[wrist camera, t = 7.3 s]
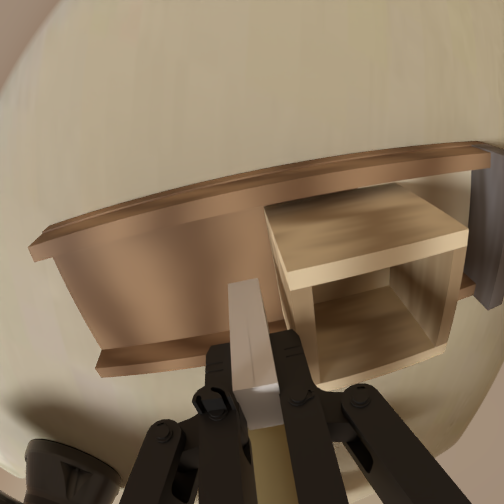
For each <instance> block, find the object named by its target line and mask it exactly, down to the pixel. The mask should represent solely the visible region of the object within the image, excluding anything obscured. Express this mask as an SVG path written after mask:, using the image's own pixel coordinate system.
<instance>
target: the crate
mask: <svg viewBox="0 0 504 504" xmlns="http://www.w3.org/2000/svg"><path fill="white" fill-rule="evenodd" d="M264 213H265V218H266V223H267V228H268V234H269V239H270V244H271V250H272V255H273V261H274V266H275V272H276V277H277V283H278V288H279V294H280V299H281V305H282V311H283V315H284V319H285V323H286V326H287V330H289V329H293V330H294V331H295V332H296V333H297V334H298V335H299V337H300V340H301V343H302V347H303V350H304V354H305V357H306V360H307V363H308V367H309V370H310V374H311V377H312V380H313V382H314V384H315V385H316V386H317V387H318V388H320V389H321V390H324V391H331V390H335V389H339V388H342V387H346V386H349V385H353V384H356V383H360V382H363V381H366V380H370V379H373V378H376V377H379V376H382V375H385V374H388V373H391V372H394V371H397V370H400V369H403V368H406V367H408V366H411V365H414V364H417V363H419V362H422V361H425V360H427V359H430V358H432V357H435V356H437V355H440V354H442V353H444V352H445V348H446V345H447V341H448V338H449V334H450V330H451V326H452V322H453V318H454V314H455V310H456V305H457V301H458V296H459V291H460V286H461V280H462V275H463V269H464V263H465V257H466V250H467V242H468V234H469V229H468V228H467V227H465V226H464V225H463V224H461V223H460V222H458V221H457V220H455V219H454V218H452V217H451V216H449V215H448V214H446V213H444V212H443V211H441V210H440V209H438V208H437V207H435V206H434V205H432V204H430V203H429V202H427V201H426V200H424V199H422V198H421V197H419V196H417V195H416V194H414V193H412V192H411V191H409V190H407V189H406V188H404V187H402V186H400V185H399V184H397V183H389V184H383V185H377V186H371V187H365V188H359V189H354V190H348V191H343V192H337V193H332V194H326V195H321V196H316V197H310V198H305V199H300V200H295V201H290V202H285V203H280V204H275V205H270V206H265V207H264Z"/></svg>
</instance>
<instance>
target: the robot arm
mask: <svg viewBox="0 0 504 504" xmlns="http://www.w3.org/2000/svg"><path fill="white" fill-rule="evenodd" d="M228 301H229V326H230V342H228V343H223V344H217V345H212V346H210V348H209V350H208V352H207V354H206V368H205V372H206V374H205V386H204V387H202V388H201V389H199V390H198V391H197V392H196V393H195V394H194V396H193V399H192V403H193V405H194V406H195V408H196V410H197V411H198V414H197V415H195V416H194V417H192V418H190V419H188V420H185V421H182V422H180V423H176V422H175V421H173V420H170V419H164V420H160V421H157V422H156V423H154V424H153V425H152V426H151V427H150V428H149V430H148V432H147V434H146V437H145V439H144V442H143V444H142V447H141V449H140V452H139V454H138V457H137V459H136V462H135V464H134V467H133V469H132V472H131V474H130V477H129V479H128V482H127V484H126V487H125V490H124V492H123V495H122V497H121V500H120V503H119V504H194V501H195V497H196V494H197V490H198V487H199V504H258V500H257V491H256V482H255V473H254V464H253V455H252V446H251V441H250V438H249V436H248V428H249V430H254V429H260V428H266V427H271V426H277V425H282V424H284V426H285V432H286V437H287V443H288V448H289V454H290V459H291V465H292V470H293V476H294V481H295V487H296V492H297V498H298V503H299V504H349V502H348V499H347V495H346V491H345V488H344V484H343V480H342V476H341V473H340V469H339V465H338V462H337V458H336V455H335V451H334V447H333V444H332V442H342V443H343V444H344V446H345V447H346V449H347V450H348V452H349V453H350V455H351V456H352V458H353V459H354V461H355V462H356V464H357V465H358V467H359V468H360V470H361V471H362V473H363V474H364V476H365V477H366V479H367V480H368V482H369V483H370V485H371V486H372V487H373V489H374V490H375V492H376V493H377V495H378V496H379V498H380V499H381V501H382V502H383V504H471V502H470V501H469V500H468V499H467V497H466V496H465V495H464V494H463V493H462V491H461V490H460V489H459V488H458V486H457V485H456V484H455V483H454V482H453V480H452V479H451V478H450V477H449V476H448V474H447V473H446V472H445V471H444V469H443V468H442V467H441V466H440V465H439V463H438V462H437V461H436V460H435V459H434V457H433V456H432V455H431V454H430V453H429V451H428V450H427V449H426V448H425V447H424V445H423V444H422V443H421V442H420V441H419V439H418V438H417V437H416V436H415V435H414V433H413V432H412V431H411V430H410V429H409V427H408V426H407V425H406V424H405V423H404V421H403V420H402V419H401V418H400V417H399V415H398V414H397V413H396V412H395V411H394V409H393V408H392V407H391V406H390V405H389V403H388V402H387V401H386V400H385V399H384V398H383V396H382V395H381V394H380V393H379V392H378V390H377V389H375V388H374V387H373V386H371V385H368V384H365V383H364V384H355V385H352V386H350V387H349V388H347V389H346V390H345V391H344V392H327V391H324V390H321V389H320V388H318V387H317V386H316V385H315V384H314V382H313V380H312V377H311V374H310V370H309V367H308V363H307V360H306V357H305V354H304V350H303V347H302V343H301V340H300V337H299V335H298V334H297V333H296V332H295V331H294V330H293V329H289V330H284V331H280V332H275V333H270V332H269V327H268V322H267V317H266V312H265V308H264V303H263V299H262V294H261V290H260V285H259V281H258V278H254V279H249V280H245V281H240V282H235V283H230V284H228ZM25 461H26V484H27V490H26V495H25V499H24V503H21V502H20V501H18V500H16V499H14V498H12V497H11V496H9V495H7V494H6V493H4V492H2V491H1V490H0V504H112V503H113V501H114V499H115V497H116V496H117V495H118V492H119V489H120V482H121V478H120V476H119V474H118V473H117V472H116V471H115V470H113V469H112V468H111V467H109V466H108V465H106V464H105V463H103V462H101V461H99V460H98V459H96V458H94V457H92V456H90V455H87V454H85V453H83V452H81V451H78V450H76V449H73V448H71V447H68V446H65V445H62V444H59V443H55V442H51V441H46V440H31V441H30V442H29V443H28V446H27V449H26V452H25Z"/></svg>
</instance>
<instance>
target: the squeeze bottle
mask: <svg viewBox="0 0 504 504" xmlns="http://www.w3.org/2000/svg"><path fill="white" fill-rule="evenodd" d="M248 436H249V438H250V441H251V446H252V455H253V464H254V473H255V482H256V491H257V500H258V504H299V503H298V498H297V492H296V487H295V481H294V476H293V470H292V465H291V459H290V454H289V448H288V443H287V437H286V432H285V426H284V424H282V425H277V426H271V427H266V428H260V429H254V430H249V428H248Z"/></svg>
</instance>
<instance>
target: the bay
mask: <svg viewBox="0 0 504 504" xmlns="http://www.w3.org/2000/svg"><path fill="white" fill-rule="evenodd" d="M389 183H397V184H399V185H400V186H402V187H404V188H406V189H407V190H409V191H411V192H412V193H414V194H416V195H417V196H419V197H421V198H422V199H424V200H426V201H427V202H429V203H430V204H432V205H434V206H435V207H437V208H438V209H440V210H441V211H443V212H444V213H446V214H448V215H449V216H451V217H452V218H454V219H455V220H457V221H458V222H460V223H461V224H463V225H464V226H465V227H467V228H468V229H469V234H468V242H467V250H466V257H465V263H464V269H463V275H462V280H461V286H460V291H459V296H458V300H461V299H463V298H466V297H469V296H471V295H473V296H474V297H475V298H476V299H477V300H478V301H479V302H480V303H481V304H482V305H483V306H484V307H485V308H486V309H487V310H490V309H492V308H494V307H496V306H499V305H501V304H502V301H503V297H504V150H503V149H500V148H497V147H494V146H491V145H488V144H485V143H482V142H479V141H470V142H455V143H442V144H431V145H420V146H410V147H401V148H392V149H384V150H376V151H368V152H361V153H354V154H347V155H340V156H334V157H327V158H321V159H315V160H309V161H303V162H298V163H292V164H287V165H281V166H276V167H271V168H266V169H260V170H256V171H251V172H246V173H241V174H236V175H232V176H227V177H223V178H218V179H214V180H209V181H205V182H201V183H197V184H192V185H188V186H184V187H180V188H176V189H172V190H168V191H164V192H161V193H157V194H153V195H149V196H146V197H142V198H138V199H135V200H131V201H128V202H124V203H121V204H117V205H114V206H110V207H107V208H104V209H100V210H97V211H94V212H90V213H87V214H84V215H81V216H78V217H75V218H71V219H68V220H65V221H62V222H59V223H56V224H53V225H50V226H48V227H47V228H46V229H45V230H44V231H43V232H42V233H43V234H42V235H41V236H39V237H38V238H37V239H36V240H35V241H34V242H33V243H32V244H31V245H30V246H29V247H28V249H29V251H30V254H31V256H32V258H33V260H34V262H37V261H41V260H44V259H48V258H51V257H53V259H54V261H55V263H56V265H57V267H58V270H59V272H60V274H61V276H62V278H63V280H64V282H65V284H66V286H67V288H68V290H69V292H70V294H71V296H72V298H73V300H74V302H75V304H76V306H77V307H78V309H79V311H80V313H81V315H82V317H83V318H84V320H85V322H86V324H87V326H88V327H89V329H90V331H91V332H92V334H93V336H94V338H95V339H96V341H97V343H98V344H99V346H100V348H101V349H102V351H101V353H100V356H99V359H98V362H97V364H96V367H95V369H96V371H97V372H98V373H99V375H100V376H101V378H103V377H116V376H128V375H138V374H147V373H156V372H165V371H172V370H180V369H187V368H194V367H201V366H206V354H207V352H208V350H209V348H210V346H212V345H217V344H223V343H228V342H230V326H229V301H228V284H230V283H235V282H240V281H245V280H249V279H254V278H258V281H259V285H260V290H261V294H262V299H263V303H264V308H265V312H266V317H267V322H268V327H269V332H270V333H275V332H280V331H284V330H287V326H286V323H285V319H284V315H283V311H282V305H281V299H280V294H279V288H278V283H277V277H276V272H275V266H274V261H273V255H272V250H271V244H270V239H269V234H268V228H267V223H266V218H265V213H264V207H265V206H270V205H275V204H280V203H285V202H290V201H295V200H300V199H305V198H310V197H316V196H321V195H326V194H332V193H337V192H343V191H348V190H354V189H359V188H365V187H371V186H377V185H383V184H389Z"/></svg>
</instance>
